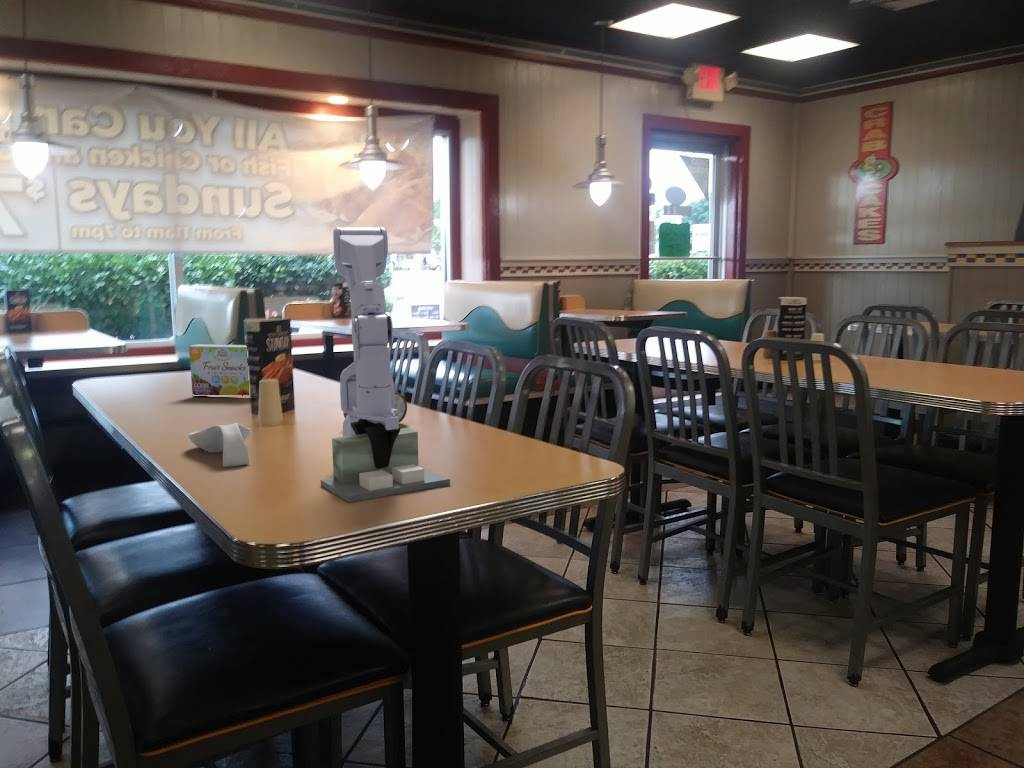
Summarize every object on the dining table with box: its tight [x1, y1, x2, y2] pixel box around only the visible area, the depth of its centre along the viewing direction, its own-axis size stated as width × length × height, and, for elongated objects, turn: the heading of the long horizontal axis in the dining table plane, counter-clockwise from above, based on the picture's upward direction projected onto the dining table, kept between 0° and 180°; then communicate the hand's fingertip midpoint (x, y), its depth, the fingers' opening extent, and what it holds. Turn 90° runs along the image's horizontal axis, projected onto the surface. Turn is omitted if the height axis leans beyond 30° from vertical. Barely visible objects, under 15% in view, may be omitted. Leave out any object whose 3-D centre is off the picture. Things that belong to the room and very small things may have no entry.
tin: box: [342, 390, 408, 424], centre depth 183 cm, size 15×3×8 cm, turn 122°
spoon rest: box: [188, 422, 251, 468], centre depth 157 cm, size 24×12×7 cm, turn 30°
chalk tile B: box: [392, 464, 424, 484], centre depth 133 cm, size 4×4×2 cm
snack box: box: [188, 343, 249, 396], centre depth 229 cm, size 21×6×15 cm, turn 81°
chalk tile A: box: [359, 470, 393, 491], centre depth 129 cm, size 4×4×2 cm
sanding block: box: [331, 427, 419, 484], centre depth 136 cm, size 4×14×7 cm, turn 126°
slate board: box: [320, 464, 451, 503], centre depth 133 cm, size 12×18×1 cm, turn 124°
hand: (376, 464), depth 136 cm, fingers closed on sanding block, 4 cm apart
